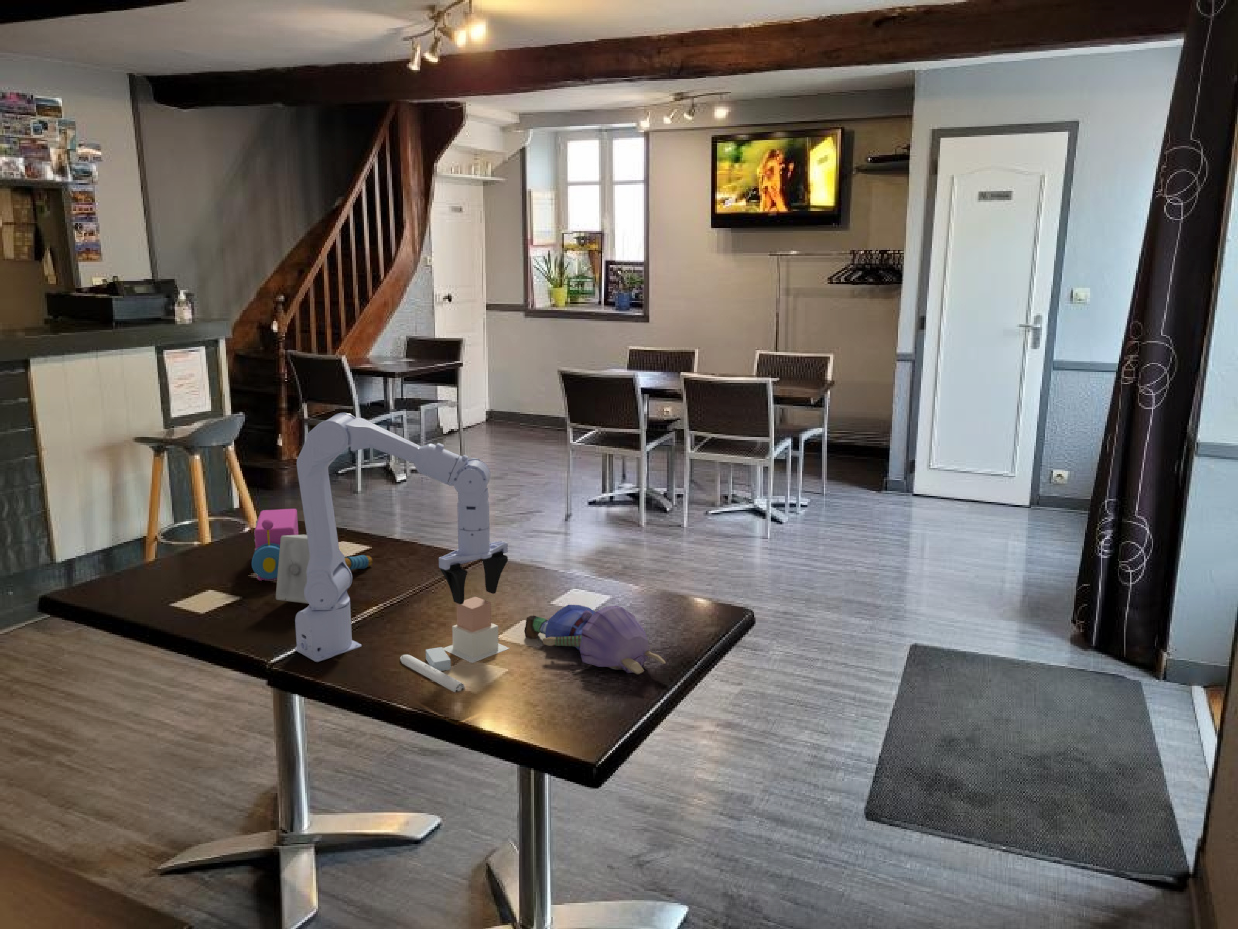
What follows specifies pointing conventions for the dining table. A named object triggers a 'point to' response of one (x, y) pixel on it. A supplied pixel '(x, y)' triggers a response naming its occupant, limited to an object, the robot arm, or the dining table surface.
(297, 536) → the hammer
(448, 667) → the brick
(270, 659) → the dining table surface
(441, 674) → the marker
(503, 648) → the plate
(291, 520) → the toy
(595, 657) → the toy
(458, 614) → the top block
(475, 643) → the base block
